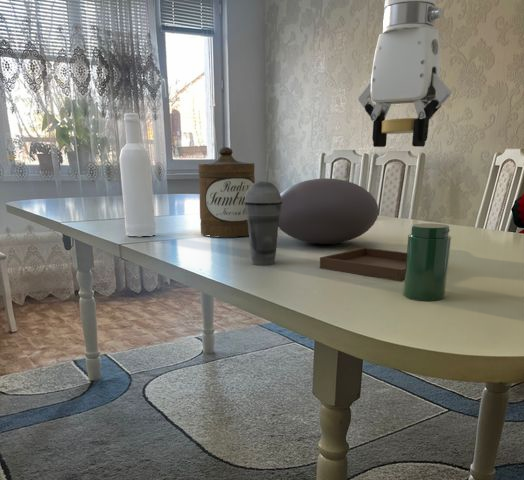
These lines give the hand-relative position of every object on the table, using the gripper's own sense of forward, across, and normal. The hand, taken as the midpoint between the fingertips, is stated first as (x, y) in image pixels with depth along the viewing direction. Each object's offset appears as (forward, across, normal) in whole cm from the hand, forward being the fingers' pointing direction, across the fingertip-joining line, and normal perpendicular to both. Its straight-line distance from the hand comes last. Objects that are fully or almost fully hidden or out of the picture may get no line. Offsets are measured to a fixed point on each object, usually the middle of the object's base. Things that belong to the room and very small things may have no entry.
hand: (398, 145), depth 89 cm
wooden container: (+22, +59, -18) cm, 65 cm away
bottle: (+22, +75, -2) cm, 78 cm away
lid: (-3, 0, 0) cm, 3 cm away
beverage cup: (+22, +24, +6) cm, 33 cm away
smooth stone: (+22, +30, -22) cm, 43 cm away
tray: (+22, +4, -4) cm, 22 cm away
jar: (+22, -12, +10) cm, 27 cm away
